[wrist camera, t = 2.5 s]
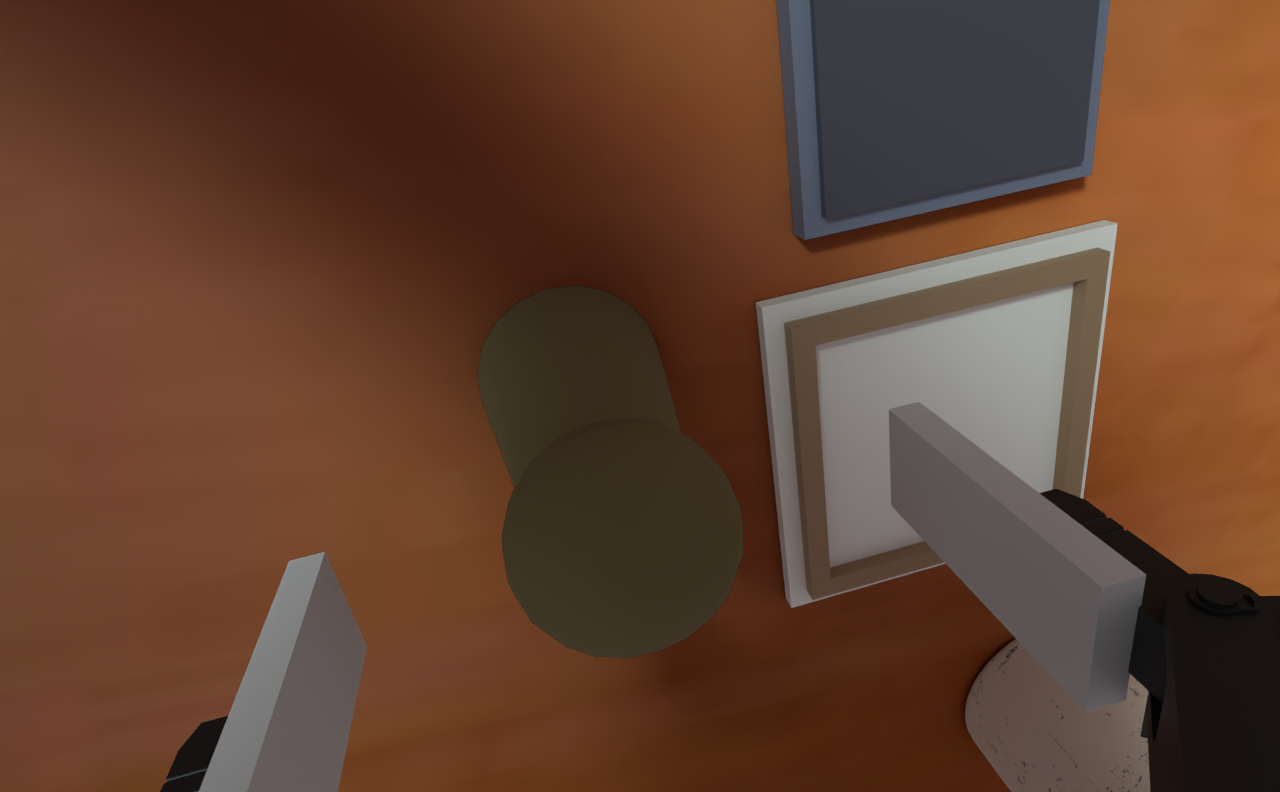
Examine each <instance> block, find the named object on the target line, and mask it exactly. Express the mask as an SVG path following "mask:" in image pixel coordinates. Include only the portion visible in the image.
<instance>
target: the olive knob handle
mask: <svg viewBox="0 0 1280 792" xmlns="http://www.w3.org/2000/svg"><path fill="white" fill-rule="evenodd" d="M477 375H478V380H479V386H480V392H481V397H482V402H483V405H484V407H485V410H486V413H487V415H488V418H489V421H490V424H491V426H492V429H493V432H494V434H495V437H496V440H497V442H498V445H499V448H500V450H501V453H502V456H503V459H504V461H505V464H506V467H507V469H508V472H509V475H510V477H511V480H512V483H513V485H514V490H513V493H512V495H511V498H510V500H509V503H508V508H507V512H506V517H505V522H504V527H503V532H502V549H503V556H504V562H505V567H506V573H507V578H508V583H509V585H510V587H511V589H512V591H513V593H514V595H515V597H516V598H517V600H518V602H519V603H520V605H521V606H522V608H523V609H524V611H525V612H526V614H527V616H528V617H529V619H530V620H531V622H532V623H533V624H535V625H536V626H537V627H539V628H540V629H542V630H543V631H544V632H546V633H547V634H548V635H550V636H551V637H553V638H554V639H555V640H557V641H558V642H560V643H561V644H563V645H564V646H566V647H567V648H570V649H573V650H577V651H580V652H583V653H586V654H589V655H592V656H595V657H616V658H629V657H634V656H638V655H643V654H648V653H653V652H658V651H660V650H662V649H664V648H666V647H668V646H671V645H673V644H675V643H677V642H679V641H681V640H683V639H686V638H687V637H689V636H690V635H691V634H692V633H694V632H695V631H696V630H697V629H699V628H700V627H701V626H702V625H704V624H705V623H706V622H707V621H709V620H710V619H711V618H712V617H713V615H714V614H715V612H716V611H717V610H718V608H719V607H720V606H721V604H722V603H723V602H724V600H725V599H726V598H727V596H728V595H729V592H730V590H731V587H732V584H733V581H734V578H735V576H736V573H737V570H738V567H739V564H740V561H741V558H742V556H743V522H742V516H741V510H740V507H739V504H738V502H737V499H736V497H735V494H734V492H733V489H732V487H731V484H730V482H729V480H728V478H727V477H726V475H725V474H724V472H723V471H722V469H721V467H720V466H719V465H718V464H717V463H716V462H715V461H714V460H713V459H712V458H711V457H710V456H709V455H708V454H707V453H706V452H705V451H704V450H703V449H702V447H701V446H700V445H699V444H697V443H696V442H694V441H693V440H691V439H690V438H688V437H687V436H685V435H683V434H682V433H681V429H680V425H679V422H678V418H677V414H676V411H675V407H674V403H673V400H672V396H671V392H670V389H669V385H668V381H667V378H666V374H665V370H664V367H663V363H662V359H661V356H660V352H659V348H658V346H657V344H656V341H655V339H654V337H653V334H652V332H651V329H650V327H649V325H648V323H647V322H646V321H645V320H644V319H643V318H642V317H641V316H640V315H639V314H638V312H637V311H636V310H635V309H634V308H633V307H632V306H631V305H630V304H628V303H627V302H625V301H623V300H621V299H619V298H618V297H616V296H614V295H612V294H610V293H608V292H607V291H604V290H598V289H593V288H588V287H582V286H577V285H575V286H567V287H559V288H551V289H545V290H543V291H541V292H539V293H537V294H534V295H532V296H530V297H528V298H526V299H523V300H521V301H519V302H518V303H517V304H515V305H514V306H513V307H512V308H511V309H510V310H509V311H508V312H507V313H506V314H504V315H503V316H502V317H501V318H500V319H499V320H498V321H497V322H496V323H495V325H494V327H493V329H492V331H491V332H490V334H489V336H488V338H487V339H486V341H485V343H484V345H483V347H482V351H481V357H480V363H479V368H478V374H477Z"/></svg>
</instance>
